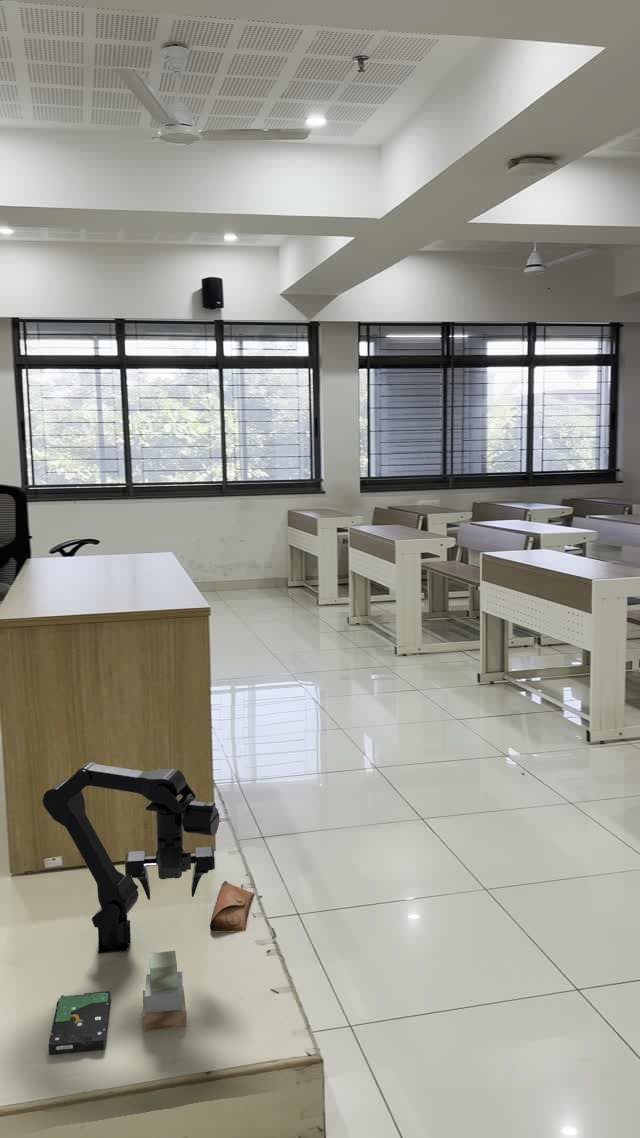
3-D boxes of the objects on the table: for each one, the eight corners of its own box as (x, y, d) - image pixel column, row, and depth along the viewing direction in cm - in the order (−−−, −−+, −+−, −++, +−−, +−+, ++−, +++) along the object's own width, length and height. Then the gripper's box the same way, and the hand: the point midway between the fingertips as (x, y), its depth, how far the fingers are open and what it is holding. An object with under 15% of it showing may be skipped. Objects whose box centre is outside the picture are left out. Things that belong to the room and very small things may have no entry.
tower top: (145, 1012, 177) (144, 996, 176) (146, 990, 184) (146, 974, 183) (182, 1009, 178) (182, 993, 177) (182, 987, 185) (182, 971, 184)
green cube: (151, 992, 178) (150, 968, 177) (150, 977, 182) (149, 953, 182) (177, 988, 179) (176, 965, 178) (175, 973, 183) (175, 950, 183)
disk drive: (106, 1053, 172) (111, 1001, 186) (106, 1039, 171) (110, 989, 185) (48, 1058, 170) (57, 1006, 184) (47, 1045, 169) (57, 994, 184)
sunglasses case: (247, 932, 210) (232, 908, 209) (220, 946, 211) (205, 922, 210) (255, 891, 228) (241, 869, 227) (231, 904, 228) (216, 882, 228)
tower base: (143, 1032, 177) (143, 1016, 176) (143, 1006, 184) (142, 990, 184) (186, 1027, 178) (186, 1010, 178) (183, 1001, 186) (183, 985, 185)
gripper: (122, 850, 188) (124, 921, 191) (215, 844, 191) (216, 914, 193) (125, 825, 199) (127, 893, 201) (213, 820, 202) (213, 887, 204)
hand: (170, 897), depth 200 cm, fingers open, 9 cm apart
